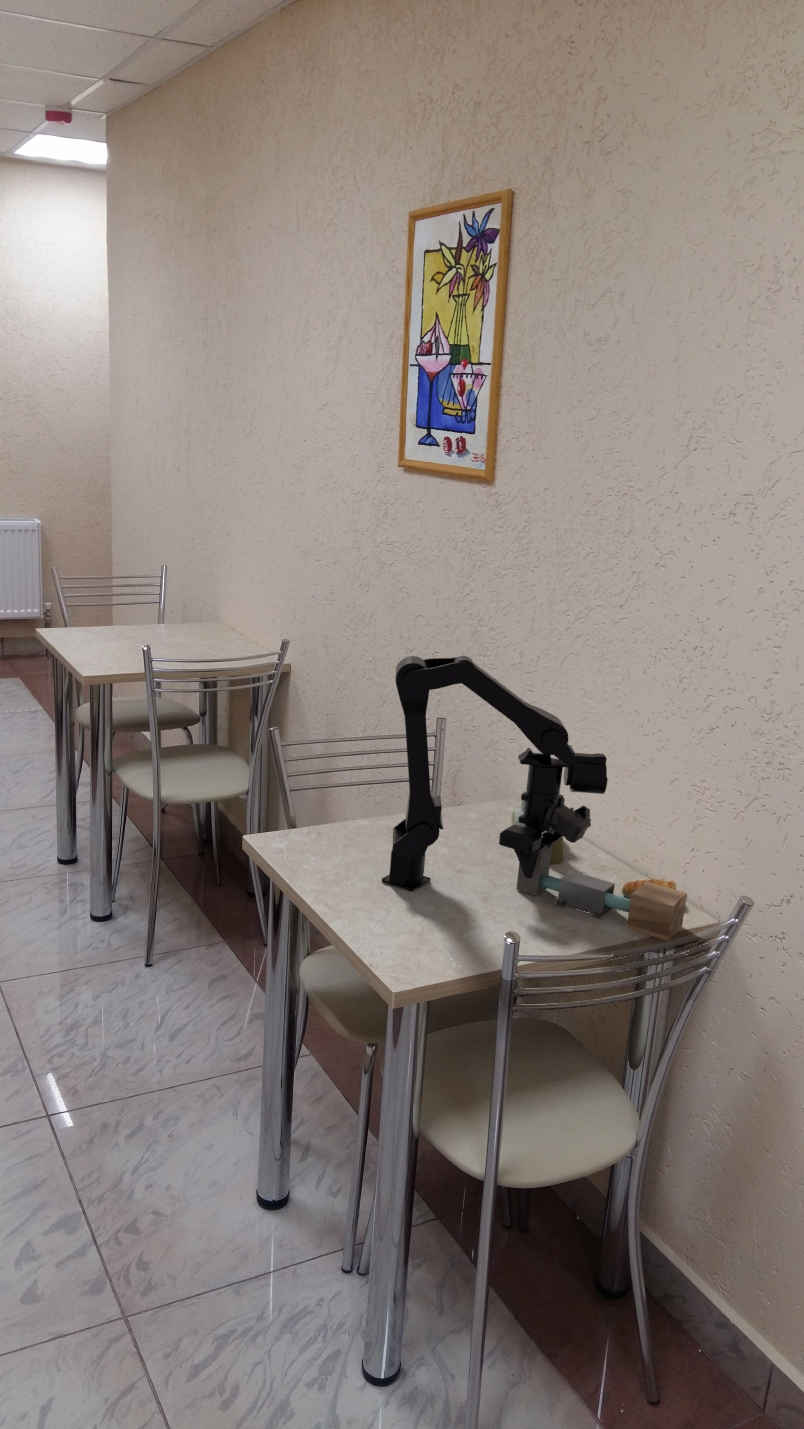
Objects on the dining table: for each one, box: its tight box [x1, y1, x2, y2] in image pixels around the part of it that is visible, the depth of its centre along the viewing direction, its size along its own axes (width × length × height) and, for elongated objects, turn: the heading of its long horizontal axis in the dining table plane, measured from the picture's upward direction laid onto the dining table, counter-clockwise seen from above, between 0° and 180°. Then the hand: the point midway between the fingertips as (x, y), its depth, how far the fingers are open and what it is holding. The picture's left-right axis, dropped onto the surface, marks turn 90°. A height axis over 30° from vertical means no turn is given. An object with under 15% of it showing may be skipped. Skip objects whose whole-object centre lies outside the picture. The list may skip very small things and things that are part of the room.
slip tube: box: [516, 843, 630, 914], centre depth 188 cm, size 4×24×8 cm, turn 57°
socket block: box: [626, 882, 688, 941], centre depth 181 cm, size 7×7×6 cm
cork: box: [550, 836, 564, 866], centre depth 208 cm, size 6×6×11 cm
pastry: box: [621, 878, 677, 899], centre depth 194 cm, size 9×7×4 cm
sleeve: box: [554, 870, 616, 920], centre depth 188 cm, size 6×8×5 cm
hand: (533, 874), depth 193 cm, fingers closed on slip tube, 4 cm apart
